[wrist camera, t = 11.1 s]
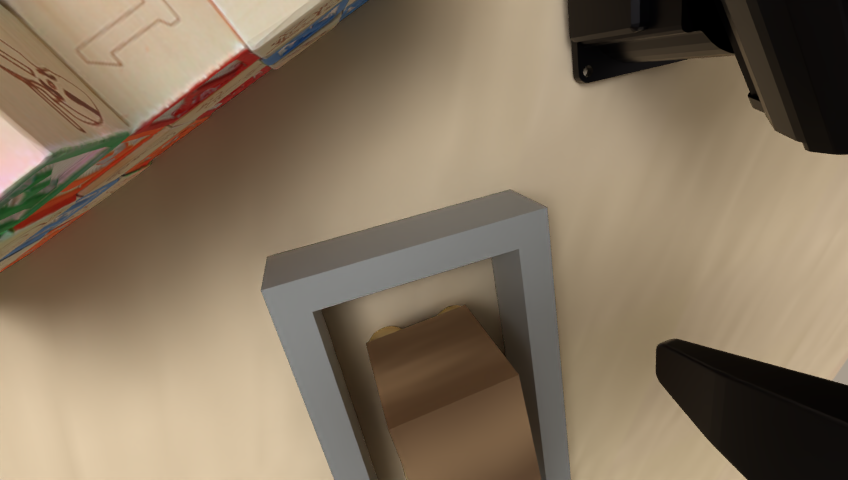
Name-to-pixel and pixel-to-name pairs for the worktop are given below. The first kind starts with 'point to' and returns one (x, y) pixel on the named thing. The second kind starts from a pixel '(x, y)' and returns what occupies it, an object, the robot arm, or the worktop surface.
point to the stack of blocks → (122, 91)
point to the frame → (422, 257)
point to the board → (453, 402)
